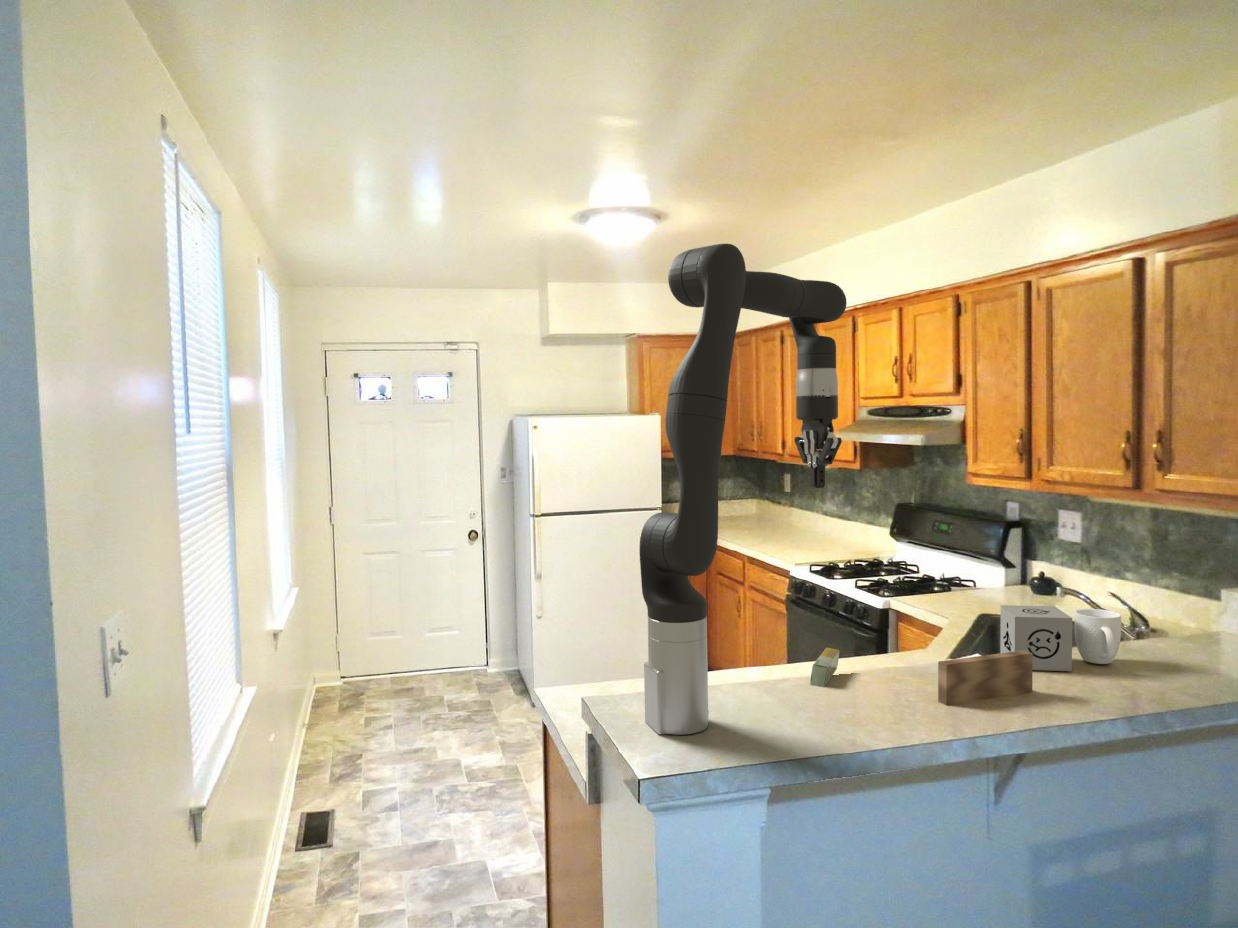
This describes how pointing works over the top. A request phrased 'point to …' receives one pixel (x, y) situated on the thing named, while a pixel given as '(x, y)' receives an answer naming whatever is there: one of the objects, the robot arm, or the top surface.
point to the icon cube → (1038, 635)
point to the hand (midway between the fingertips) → (817, 487)
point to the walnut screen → (984, 677)
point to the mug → (1097, 634)
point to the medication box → (824, 667)
